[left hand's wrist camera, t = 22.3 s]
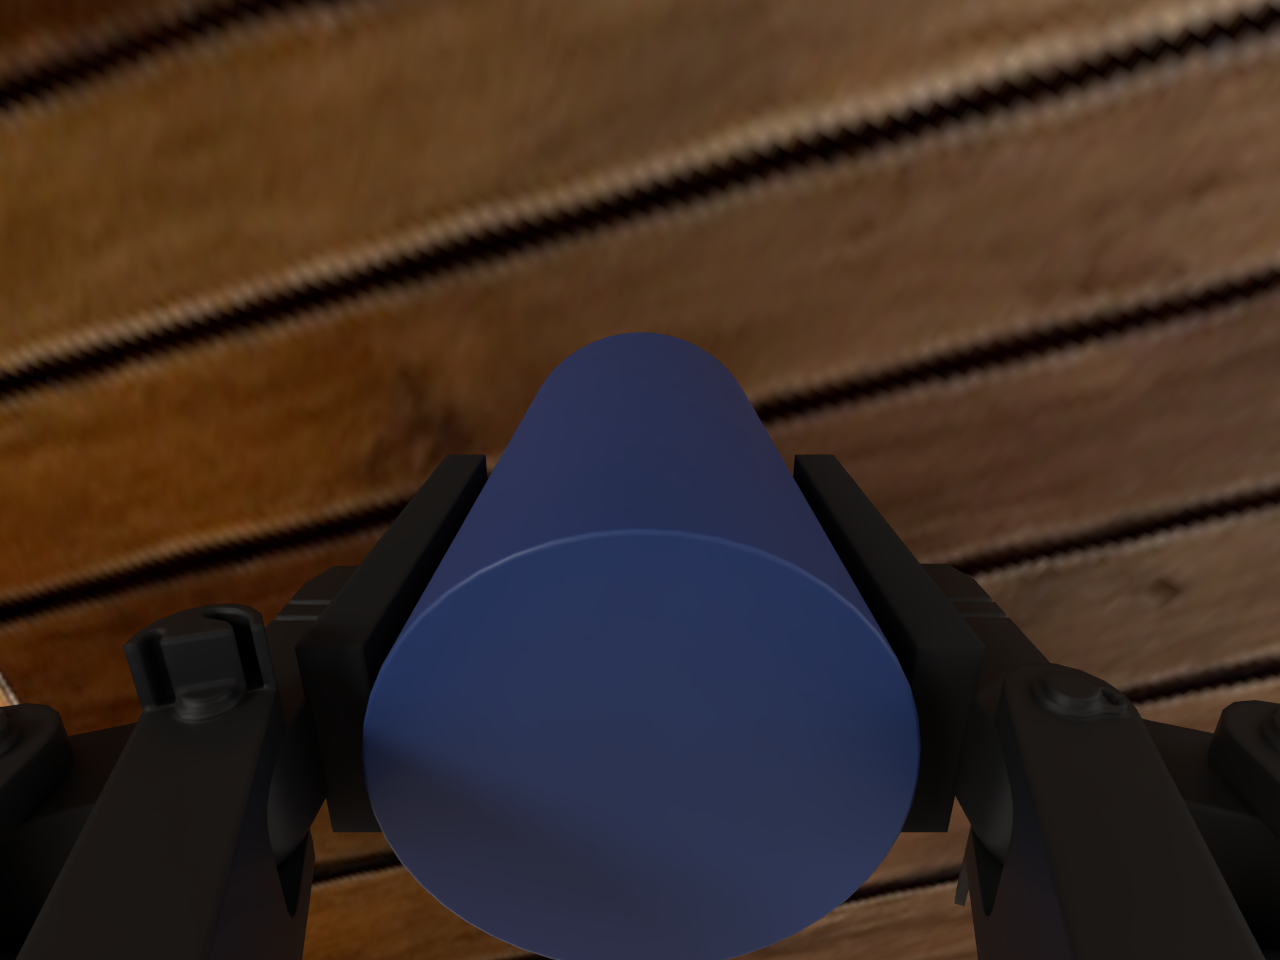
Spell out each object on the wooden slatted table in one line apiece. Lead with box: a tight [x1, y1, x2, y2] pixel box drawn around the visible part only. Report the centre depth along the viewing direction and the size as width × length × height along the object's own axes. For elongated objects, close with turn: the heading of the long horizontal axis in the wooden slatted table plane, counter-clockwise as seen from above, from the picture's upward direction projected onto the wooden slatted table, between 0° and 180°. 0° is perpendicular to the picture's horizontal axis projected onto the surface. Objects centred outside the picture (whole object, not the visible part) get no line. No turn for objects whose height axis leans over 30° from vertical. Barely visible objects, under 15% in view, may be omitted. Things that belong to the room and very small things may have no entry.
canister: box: [362, 332, 921, 960], centre depth 13 cm, size 6×6×12 cm
